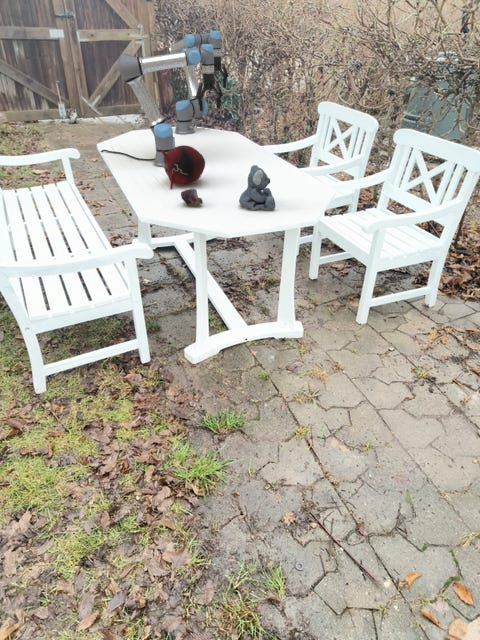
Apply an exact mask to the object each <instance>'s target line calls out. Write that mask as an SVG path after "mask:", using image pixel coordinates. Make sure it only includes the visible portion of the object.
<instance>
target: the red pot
mask: <svg viewBox="0 0 480 640" xmlns="http://www.w3.org/2000/svg"><path fill="white" fill-rule="evenodd" d="M161 152H162V153H163V155H164V161H165V165H164V167H163V168H164V172H165V174H166V176H167V177H168V180H169V182H170V186H169V187H170V189H171V190H172V188H173V186H174V185H177V186H178V185H180V186H188V185H192V184H194V183H196V182H197V181H198V180H199V179H200V178H201V176H202V175H203V172H204V170H205V168H206V160H205V158H204V156H203V155H202V153H201V152H200V151H198V150H197V149H196V148H194V147H193V146H190V145H178V146H175V148H173V149H172V150H170V151H168V152H167V154H166V153H165V152H164V151H163V150H162V149H161Z"/></svg>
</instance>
